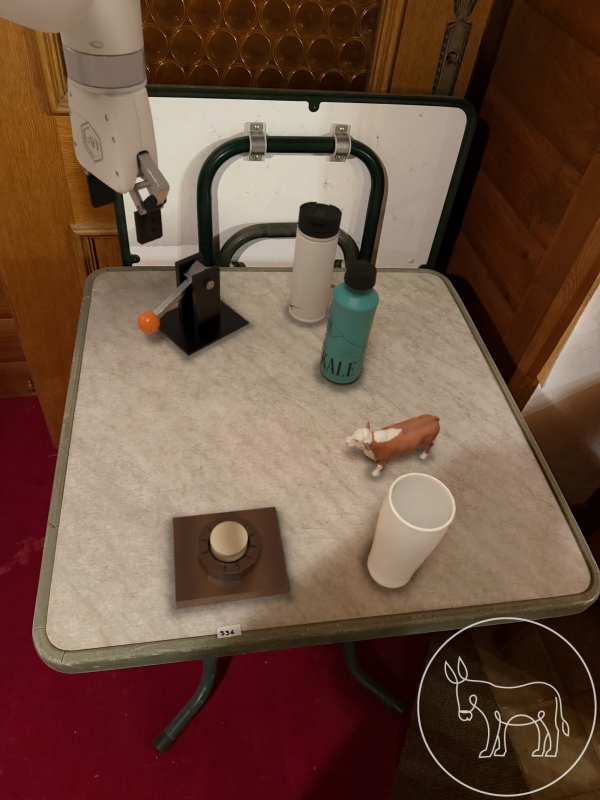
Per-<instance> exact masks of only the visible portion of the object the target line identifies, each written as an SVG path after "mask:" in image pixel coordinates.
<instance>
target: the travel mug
mask: <svg viewBox="0 0 600 800" xmlns="http://www.w3.org/2000/svg"><path fill="white" fill-rule="evenodd" d="M342 217H343V212H342V210H341V209H340V208H339V207H338V206H336V205H334V204H331V203H329V204H326V203H322V202H318V201H307V202H304V203H302V204H300V206H299V210H298V219H297V225H296V234H295V244H294V254H293V263H292V273H291V281H290V282H291V283H290V292H289V300H288V309H287V310H288V314H289V316H290V317H291V318H292V319H293V320H294V321H297V322H298V323H301V324H307V325H312V324H313V325H314V324H317V323H320V322H321V321H322V320H324V319H325V317H326V314H327V308H328V302H329V296H330V290H331V284H332V280H333V279H332V278H333V273H334V267H335V260H336V255H337V249H338V244H339V243H338V242H339V237H340V229H341V223H342Z"/></svg>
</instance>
